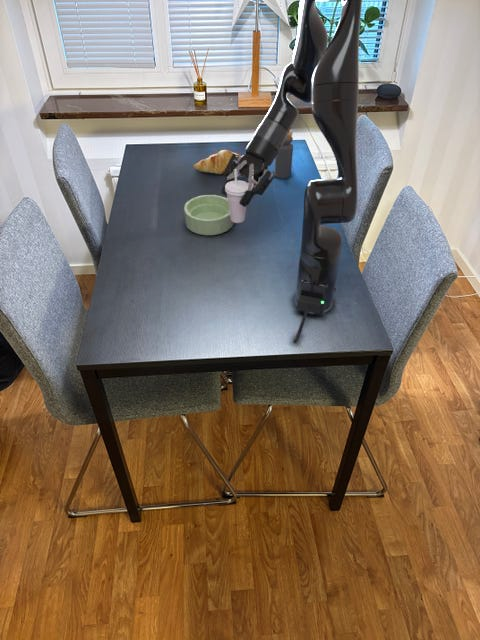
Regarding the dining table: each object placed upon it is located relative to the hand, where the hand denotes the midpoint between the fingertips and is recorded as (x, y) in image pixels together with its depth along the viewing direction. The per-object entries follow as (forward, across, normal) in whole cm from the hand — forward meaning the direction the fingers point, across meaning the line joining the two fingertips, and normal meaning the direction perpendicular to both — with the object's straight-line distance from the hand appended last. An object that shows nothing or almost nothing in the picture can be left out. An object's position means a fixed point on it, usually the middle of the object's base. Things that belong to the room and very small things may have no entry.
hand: (232, 199), depth 130 cm
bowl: (+8, -17, +17) cm, 25 cm away
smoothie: (+3, 0, +6) cm, 7 cm away
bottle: (-19, -24, +44) cm, 54 cm away
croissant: (-11, -41, +36) cm, 55 cm away
